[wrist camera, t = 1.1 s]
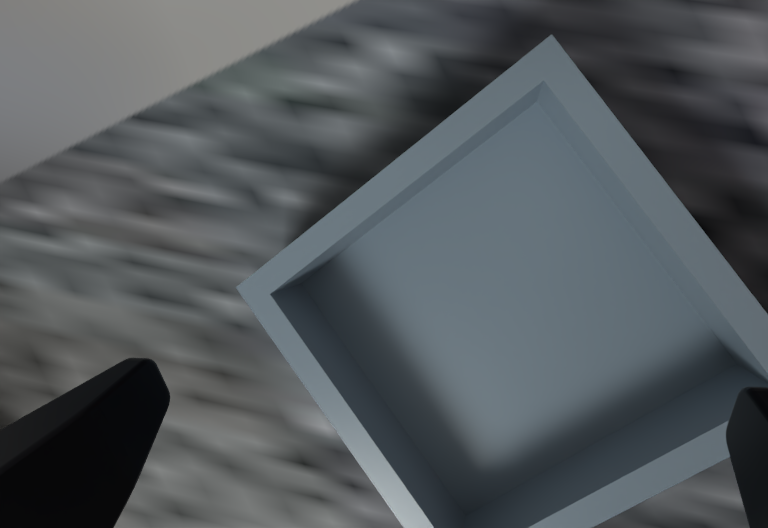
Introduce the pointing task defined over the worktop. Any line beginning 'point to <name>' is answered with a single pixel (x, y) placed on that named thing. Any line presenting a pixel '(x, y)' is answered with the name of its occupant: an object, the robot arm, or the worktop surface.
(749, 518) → the robot arm
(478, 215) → the bin
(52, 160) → the worktop surface
